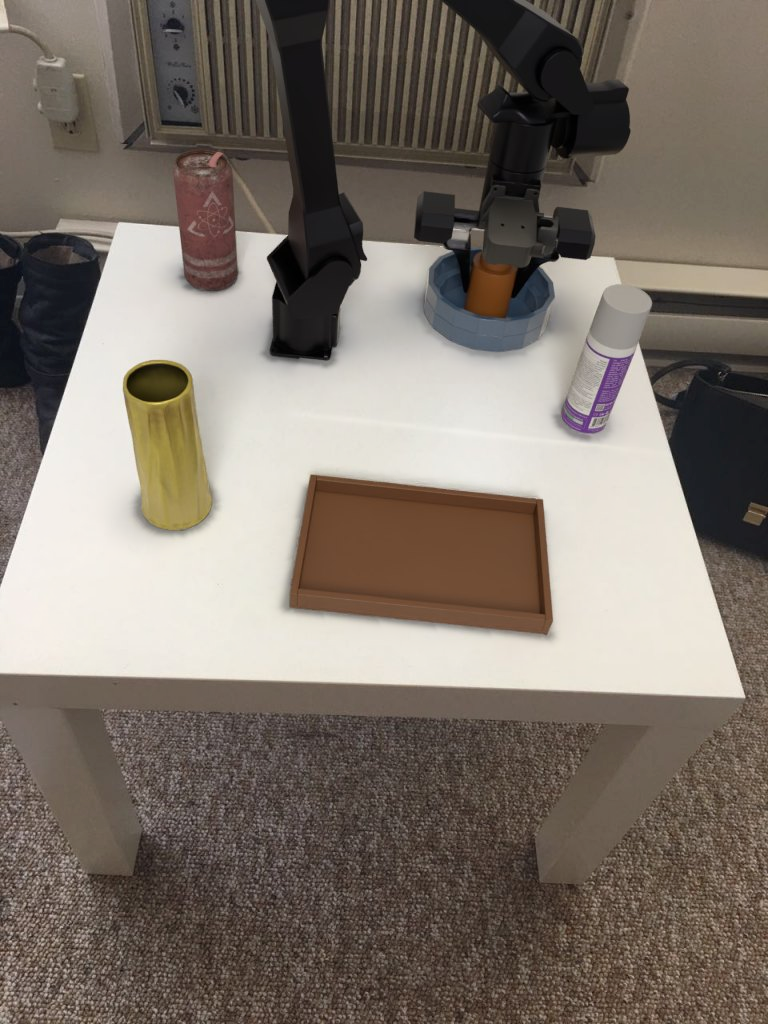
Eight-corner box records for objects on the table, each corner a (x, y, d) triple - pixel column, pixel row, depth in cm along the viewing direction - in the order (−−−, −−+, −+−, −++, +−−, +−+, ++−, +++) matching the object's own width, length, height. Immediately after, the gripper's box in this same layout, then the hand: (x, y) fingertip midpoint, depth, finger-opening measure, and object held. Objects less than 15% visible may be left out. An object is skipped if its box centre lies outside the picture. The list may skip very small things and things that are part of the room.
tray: (289, 607, 67) (289, 593, 65) (310, 488, 76) (310, 473, 74) (547, 634, 67) (553, 621, 66) (538, 513, 76) (543, 499, 75)
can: (248, 272, 97) (244, 156, 87) (219, 299, 93) (210, 181, 83) (204, 256, 98) (194, 140, 88) (174, 282, 95) (159, 164, 84)
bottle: (463, 323, 94) (478, 244, 86) (463, 297, 97) (478, 219, 89) (507, 328, 94) (526, 249, 86) (505, 302, 97) (523, 225, 89)
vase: (153, 540, 70) (129, 416, 59) (132, 491, 74) (105, 365, 63) (221, 518, 72) (210, 395, 62) (198, 471, 76) (183, 347, 65)
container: (603, 409, 87) (650, 286, 75) (606, 439, 83) (656, 317, 72) (559, 403, 86) (599, 280, 75) (561, 433, 83) (603, 310, 72)
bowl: (421, 346, 91) (426, 312, 87) (425, 274, 100) (430, 241, 97) (548, 360, 91) (558, 327, 88) (541, 287, 100) (549, 254, 97)
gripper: (421, 188, 76) (403, 327, 88) (620, 212, 76) (576, 346, 88) (425, 134, 83) (408, 269, 95) (607, 156, 84) (568, 287, 96)
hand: (489, 293), depth 93 cm, fingers open, 5 cm apart
